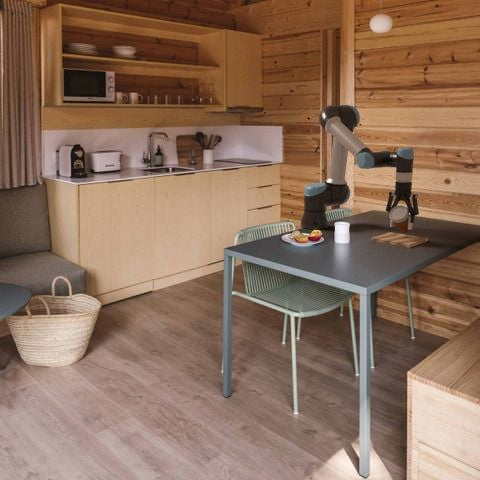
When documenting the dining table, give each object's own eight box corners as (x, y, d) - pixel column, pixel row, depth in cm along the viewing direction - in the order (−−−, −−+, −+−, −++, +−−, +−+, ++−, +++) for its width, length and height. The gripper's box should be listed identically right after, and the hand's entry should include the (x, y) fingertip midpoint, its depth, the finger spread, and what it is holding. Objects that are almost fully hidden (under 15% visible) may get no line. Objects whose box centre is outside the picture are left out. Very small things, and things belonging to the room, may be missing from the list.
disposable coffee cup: (405, 238, 266) (397, 223, 259) (392, 229, 274) (384, 215, 266) (420, 225, 267) (412, 209, 259) (406, 216, 274) (398, 201, 266)
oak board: (371, 241, 268) (371, 238, 267) (390, 235, 280) (390, 232, 280) (409, 247, 254) (409, 244, 254) (427, 241, 266) (427, 238, 266)
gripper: (429, 182, 257) (425, 229, 262) (387, 178, 271) (385, 223, 276) (421, 183, 251) (418, 232, 256) (379, 180, 266) (377, 226, 271)
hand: (400, 227), depth 266 cm, fingers closed on disposable coffee cup, 9 cm apart
